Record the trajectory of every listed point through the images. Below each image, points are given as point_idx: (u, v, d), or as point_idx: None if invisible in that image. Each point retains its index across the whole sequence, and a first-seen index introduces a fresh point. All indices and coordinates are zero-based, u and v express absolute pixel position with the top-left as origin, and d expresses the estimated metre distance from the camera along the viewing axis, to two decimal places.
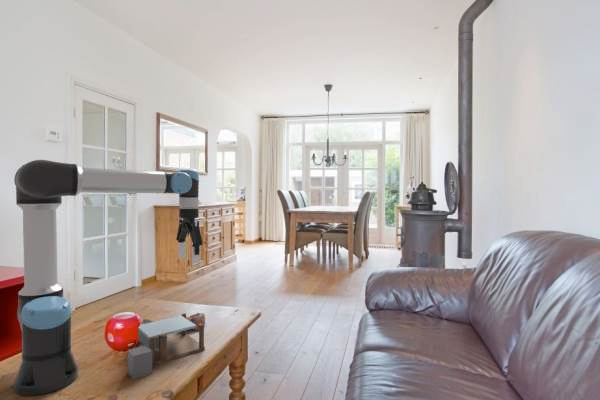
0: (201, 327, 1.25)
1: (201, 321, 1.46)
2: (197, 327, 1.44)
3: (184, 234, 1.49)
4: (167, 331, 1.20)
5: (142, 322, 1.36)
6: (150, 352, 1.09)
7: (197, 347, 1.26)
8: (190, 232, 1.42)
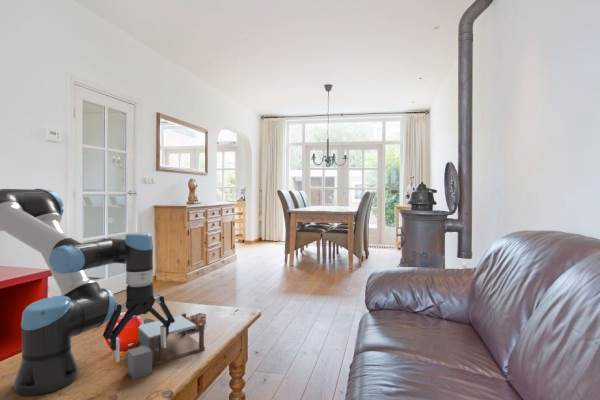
0: (201, 327, 1.25)
1: (202, 321, 1.46)
2: (197, 327, 1.44)
3: (155, 316, 1.13)
4: None
5: None
6: (150, 352, 1.09)
7: (197, 347, 1.26)
8: (123, 317, 1.08)
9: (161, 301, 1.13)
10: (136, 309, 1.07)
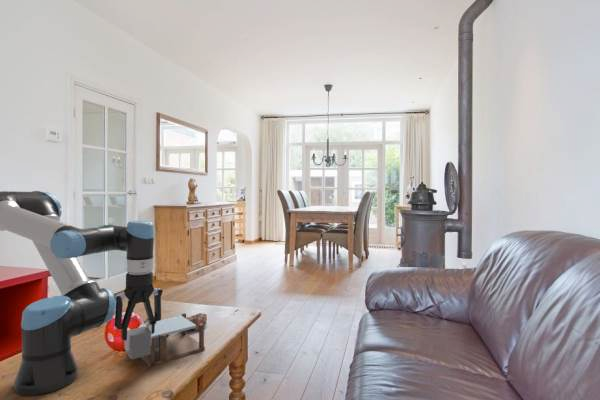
0: (201, 327, 1.25)
1: (202, 321, 1.46)
2: (198, 327, 1.43)
3: (146, 309, 1.11)
4: (167, 331, 1.20)
5: None
6: (149, 333, 1.09)
7: (197, 347, 1.26)
8: None
9: (158, 294, 1.12)
10: (136, 297, 1.07)
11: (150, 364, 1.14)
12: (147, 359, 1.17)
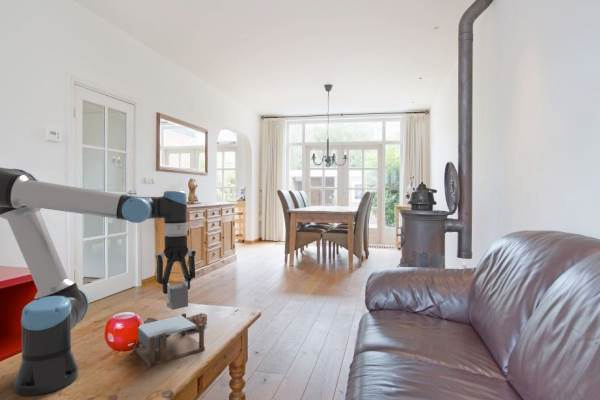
0: (201, 327, 1.25)
1: (202, 321, 1.46)
2: (198, 327, 1.43)
3: (182, 268, 1.27)
4: (167, 331, 1.20)
5: None
6: (186, 287, 1.25)
7: (197, 347, 1.26)
8: (166, 265, 1.25)
9: (192, 254, 1.29)
10: (174, 256, 1.24)
11: (150, 364, 1.14)
12: (147, 359, 1.17)
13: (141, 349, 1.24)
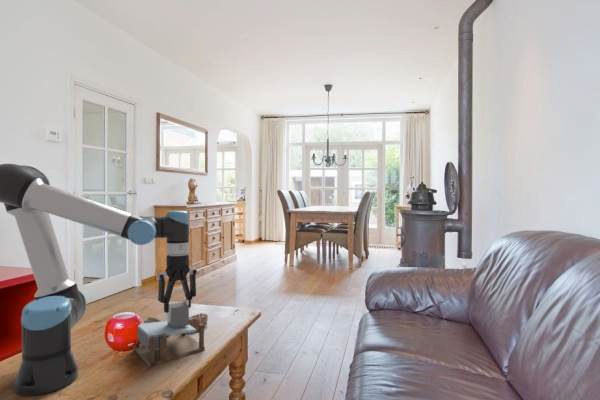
0: (201, 327, 1.25)
1: (203, 322, 1.46)
2: (198, 328, 1.43)
3: (183, 286, 1.29)
4: (167, 332, 1.20)
5: (147, 320, 1.38)
6: (187, 306, 1.27)
7: (197, 347, 1.26)
8: (168, 284, 1.27)
9: (193, 273, 1.30)
10: (175, 275, 1.25)
11: (150, 364, 1.14)
12: (147, 359, 1.17)
13: (141, 349, 1.24)
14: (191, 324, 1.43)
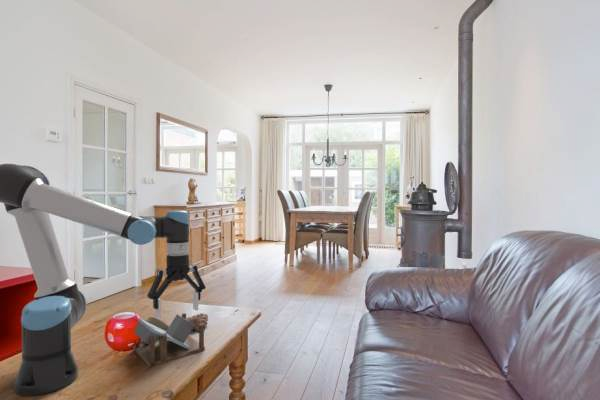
0: (201, 327, 1.25)
1: (203, 322, 1.46)
2: (198, 328, 1.43)
3: (189, 283, 1.31)
4: None
5: (147, 320, 1.39)
6: (193, 324, 1.28)
7: (197, 347, 1.26)
8: (164, 281, 1.26)
9: (195, 270, 1.31)
10: (175, 275, 1.25)
11: (150, 364, 1.14)
12: (147, 359, 1.17)
13: (141, 349, 1.24)
14: None
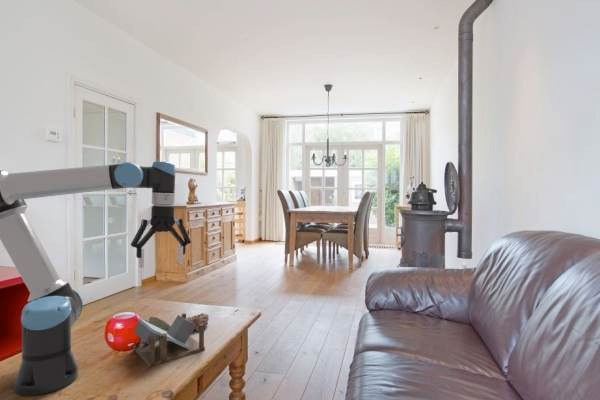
0: (201, 327, 1.25)
1: (203, 322, 1.45)
2: None
3: (174, 236, 1.30)
4: None
5: (149, 319, 1.39)
6: (194, 325, 1.29)
7: (197, 347, 1.26)
8: (148, 232, 1.26)
9: (180, 223, 1.30)
10: (159, 225, 1.25)
11: (150, 364, 1.14)
12: (147, 359, 1.17)
13: (141, 349, 1.24)
14: None
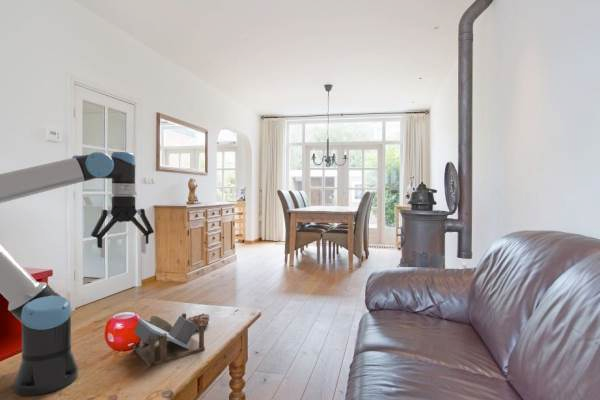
0: (201, 327, 1.25)
1: (204, 322, 1.45)
2: None
3: (136, 226, 1.31)
4: None
5: (150, 319, 1.40)
6: (196, 326, 1.29)
7: (197, 347, 1.26)
8: (109, 222, 1.26)
9: (142, 213, 1.31)
10: (120, 215, 1.26)
11: (150, 364, 1.14)
12: (147, 359, 1.17)
13: (141, 349, 1.24)
14: None
